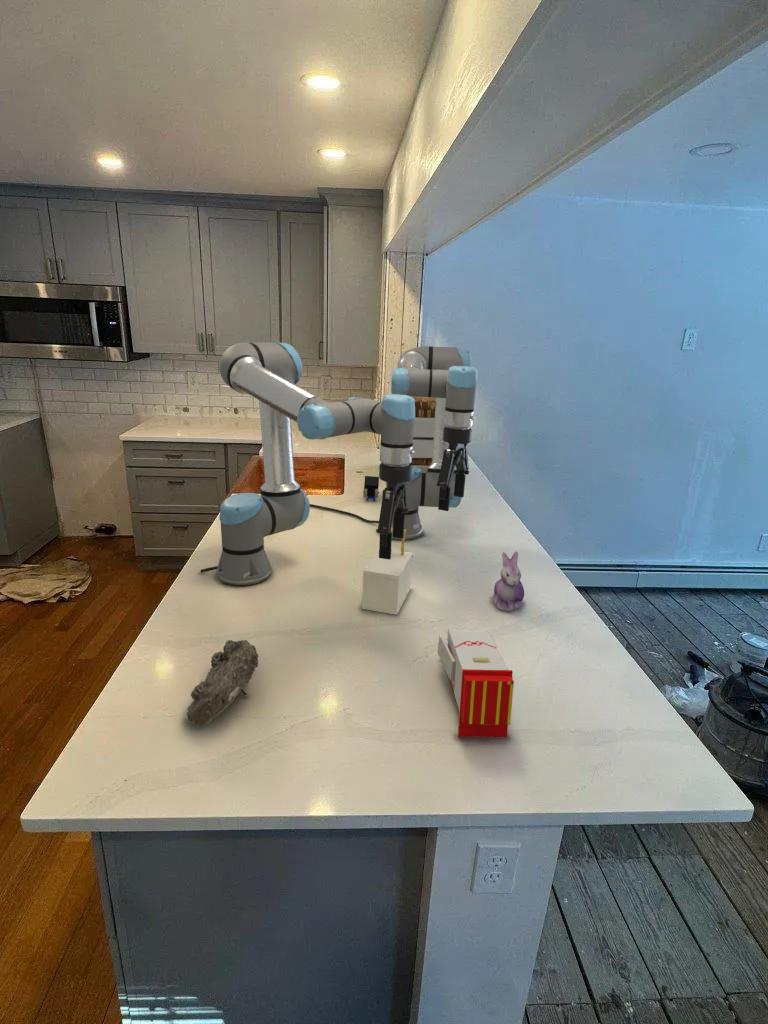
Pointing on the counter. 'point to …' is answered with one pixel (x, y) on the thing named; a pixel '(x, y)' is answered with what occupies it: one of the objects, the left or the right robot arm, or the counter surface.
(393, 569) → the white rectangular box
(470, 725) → the toy
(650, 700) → the counter surface
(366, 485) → the figurine character
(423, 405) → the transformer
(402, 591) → the chest
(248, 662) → the fossil
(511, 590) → the figurine
